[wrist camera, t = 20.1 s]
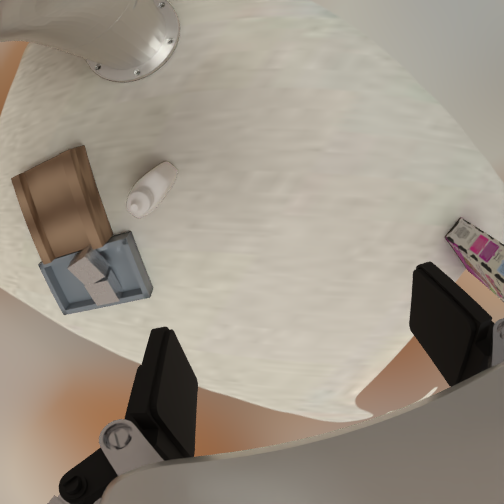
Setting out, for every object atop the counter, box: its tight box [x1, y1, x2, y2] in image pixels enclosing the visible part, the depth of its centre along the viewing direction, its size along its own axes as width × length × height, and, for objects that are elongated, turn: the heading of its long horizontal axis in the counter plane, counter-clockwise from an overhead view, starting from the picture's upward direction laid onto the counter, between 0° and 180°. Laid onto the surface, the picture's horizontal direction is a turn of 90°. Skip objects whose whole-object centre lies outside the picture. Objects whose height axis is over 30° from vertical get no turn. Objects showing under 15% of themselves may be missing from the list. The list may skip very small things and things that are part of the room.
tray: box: [38, 231, 153, 315], centre depth 41 cm, size 9×16×2 cm, turn 102°
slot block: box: [11, 146, 113, 265], centre depth 36 cm, size 13×10×4 cm
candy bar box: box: [445, 218, 504, 302], centre depth 38 cm, size 11×5×16 cm, turn 51°
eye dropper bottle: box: [126, 161, 178, 218], centre depth 33 cm, size 4×6×12 cm
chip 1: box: [67, 244, 110, 287], centre depth 38 cm, size 4×4×2 cm
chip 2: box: [84, 269, 123, 306], centre depth 41 cm, size 4×4×2 cm
